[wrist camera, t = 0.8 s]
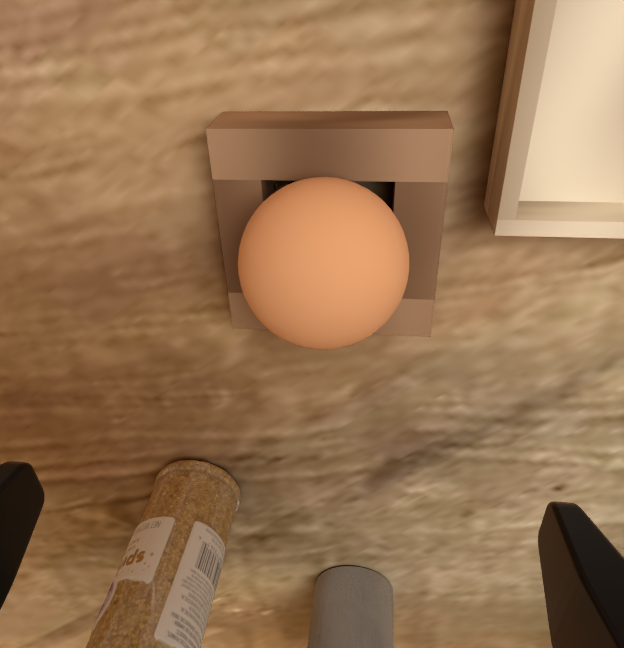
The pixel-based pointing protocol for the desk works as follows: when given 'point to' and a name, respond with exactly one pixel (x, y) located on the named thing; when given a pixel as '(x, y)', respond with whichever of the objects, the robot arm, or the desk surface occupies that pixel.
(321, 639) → the grey hollow cylinder
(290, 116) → the brown flat square frame
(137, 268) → the desk surface
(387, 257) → the ball
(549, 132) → the tray
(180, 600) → the sprinkles bottle
